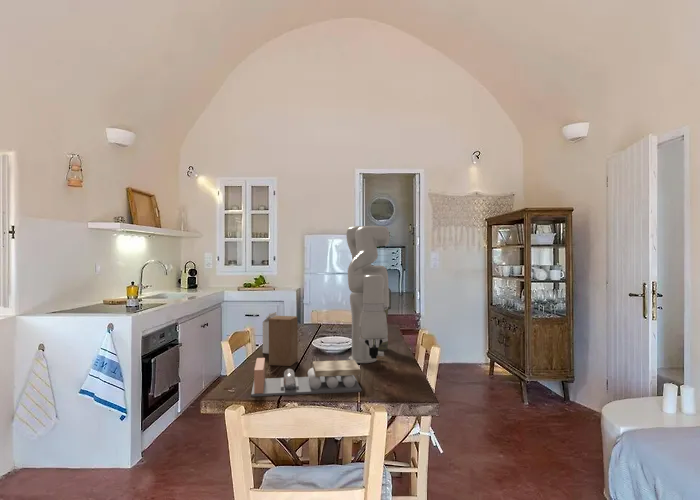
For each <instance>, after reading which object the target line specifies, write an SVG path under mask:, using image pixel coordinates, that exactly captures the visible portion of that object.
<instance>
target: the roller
mask: <svg viewBox="0 0 700 500" xmlns="http://www.w3.org/2000/svg"><path fill="white" fill-rule="evenodd" d="M295 377H296V375H295V371H294V369H292V368H287V369H285V370H284V371H283V378H284V387H285V389H287V390H293V389H294V388H295V386H296V383H295Z"/></svg>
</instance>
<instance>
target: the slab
mask: <svg viewBox="0 0 700 500" xmlns="http://www.w3.org/2000/svg"><path fill="white" fill-rule="evenodd" d="M312 368H313V369H314V373H315V377H322V376H347V375H354V376H361V368H360V366H359V365H358V363H356V362H355V360H348V359H347V360H345V359H344V360H321V361H320V360H319V361H318V360H316V361H312Z"/></svg>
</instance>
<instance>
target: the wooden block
mask: <svg viewBox="0 0 700 500" xmlns="http://www.w3.org/2000/svg"><path fill="white" fill-rule="evenodd" d="M298 320H299V319H298V316H297V315H278V316H275V317H273V318H270V319H269V354H268V366H277V367H278V366H280V367H291V366H293V365H294V364H295V363H297V362H298V352H299V351H298V350H299V349H298V348H299V347H298V343H299V341H298V339H299V338H298V334H299V333H298V331H299V330H298Z"/></svg>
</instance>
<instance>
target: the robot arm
mask: <svg viewBox="0 0 700 500" xmlns="http://www.w3.org/2000/svg"><path fill="white" fill-rule="evenodd" d="M345 234H346V242H347V246H348V248H349V252H350V254H351V261H350V262H349V264H348V268H347V283H348V289H349V291H350V295H349V304H350V311H351V355H350V356H348V359H347V360H355V362H356V363H357V364H369V363H370V364H371V363H374V362H377V360H378V359H377V357H385V351H378V347H379V345H380V344H381V343H383V342H386V341H388V342H389V337H388V338H387V336H388V332H389V331H388V330H389V329H388V318H387V319H386V313H385V311H383V310H386V309H387V308H388V306H389V289H390V287H389V273H388V270H387V268H386V267H385V266H383V265H372V263H374V262H375V261H377V259H378V256H379V252H378V248H377V247H386V246H389V243H390V237H391V235H390V231H389V229H388V228H387V227H386V226H383V225H356V226H355V225H354V226H351V227H349V228H347V231H346V233H345ZM373 339H375V344H374V346H373Z"/></svg>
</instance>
